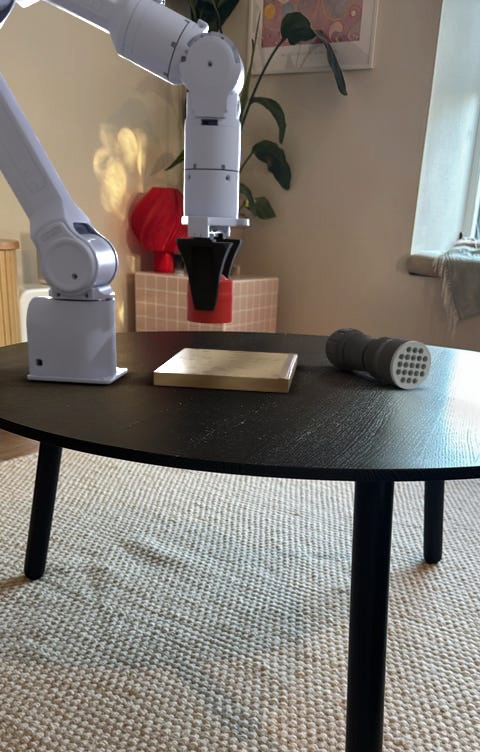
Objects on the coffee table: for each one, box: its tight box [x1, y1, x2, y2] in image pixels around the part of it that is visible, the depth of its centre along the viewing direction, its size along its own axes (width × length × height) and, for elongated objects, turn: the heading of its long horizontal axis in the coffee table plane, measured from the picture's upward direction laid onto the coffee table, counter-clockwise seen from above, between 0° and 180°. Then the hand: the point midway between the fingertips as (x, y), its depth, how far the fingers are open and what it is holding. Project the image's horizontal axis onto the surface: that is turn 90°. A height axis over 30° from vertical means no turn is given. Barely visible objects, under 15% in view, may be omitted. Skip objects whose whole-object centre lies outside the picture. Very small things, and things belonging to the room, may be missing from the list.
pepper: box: [186, 274, 234, 325], centre depth 82 cm, size 5×5×6 cm
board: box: [153, 347, 298, 394], centre depth 91 cm, size 15×18×2 cm
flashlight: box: [324, 327, 432, 390], centre depth 92 cm, size 15×5×5 cm, turn 26°
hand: (209, 307), depth 83 cm, fingers closed on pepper, 5 cm apart
